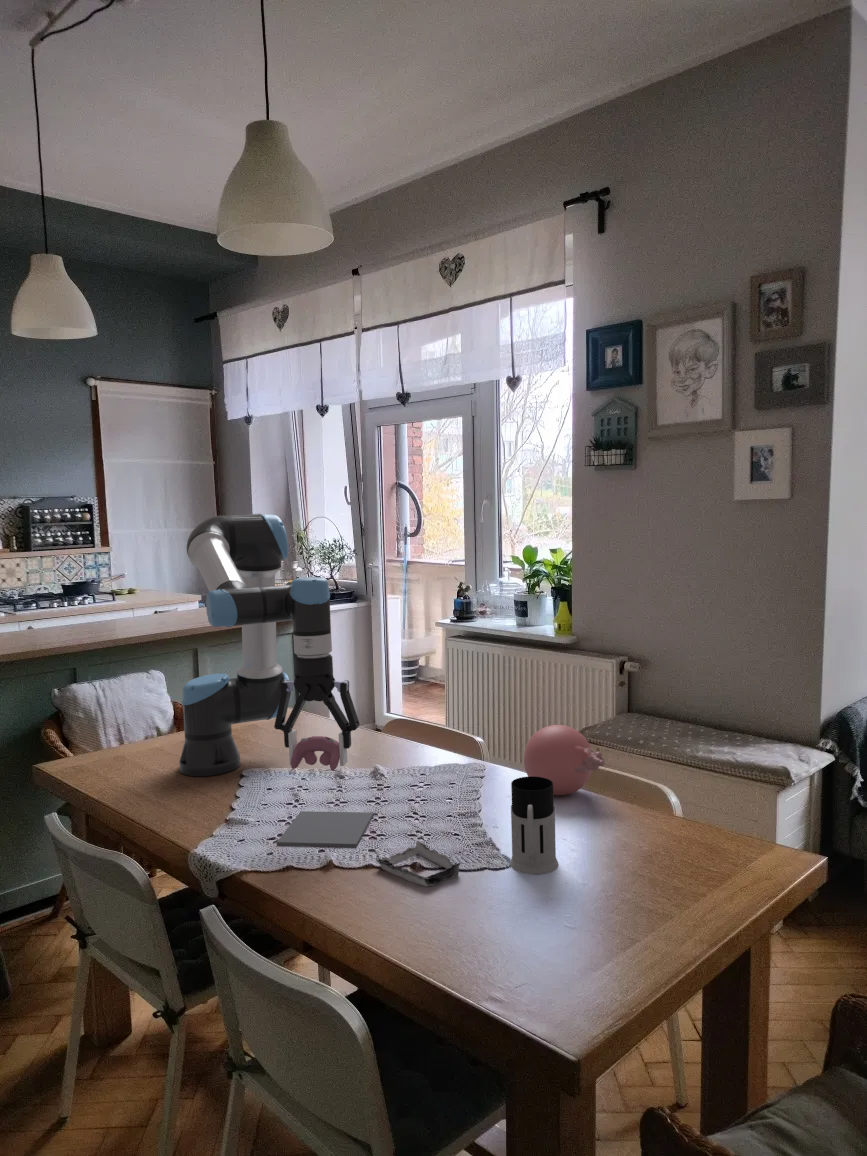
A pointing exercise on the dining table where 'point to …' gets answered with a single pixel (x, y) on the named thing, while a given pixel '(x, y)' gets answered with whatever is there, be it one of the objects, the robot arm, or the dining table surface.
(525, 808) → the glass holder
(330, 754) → the video game controller
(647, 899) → the dining table surface
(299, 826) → the charcoal mat
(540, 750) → the balloon
